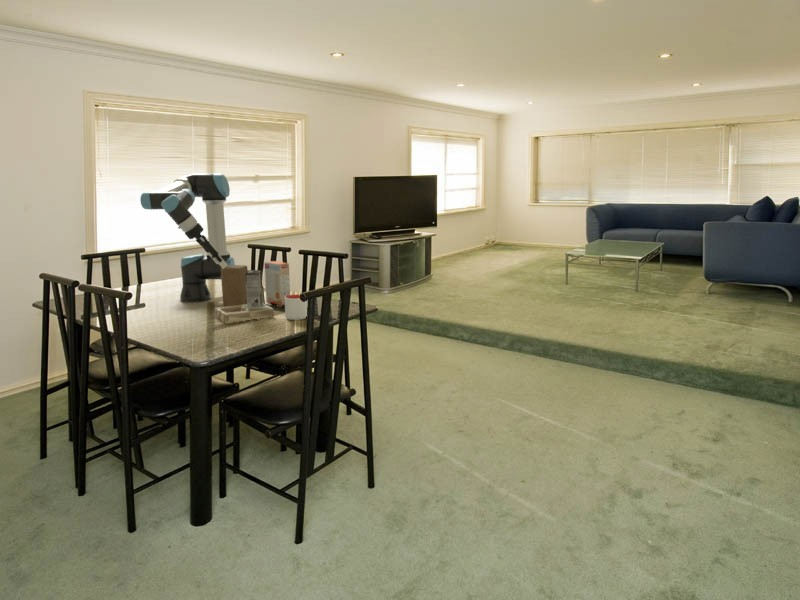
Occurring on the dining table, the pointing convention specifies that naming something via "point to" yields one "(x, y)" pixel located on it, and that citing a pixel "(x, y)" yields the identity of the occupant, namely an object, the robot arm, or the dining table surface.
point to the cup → (295, 307)
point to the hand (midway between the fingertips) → (222, 264)
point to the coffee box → (254, 288)
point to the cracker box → (277, 282)
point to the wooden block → (234, 285)
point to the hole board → (242, 313)
